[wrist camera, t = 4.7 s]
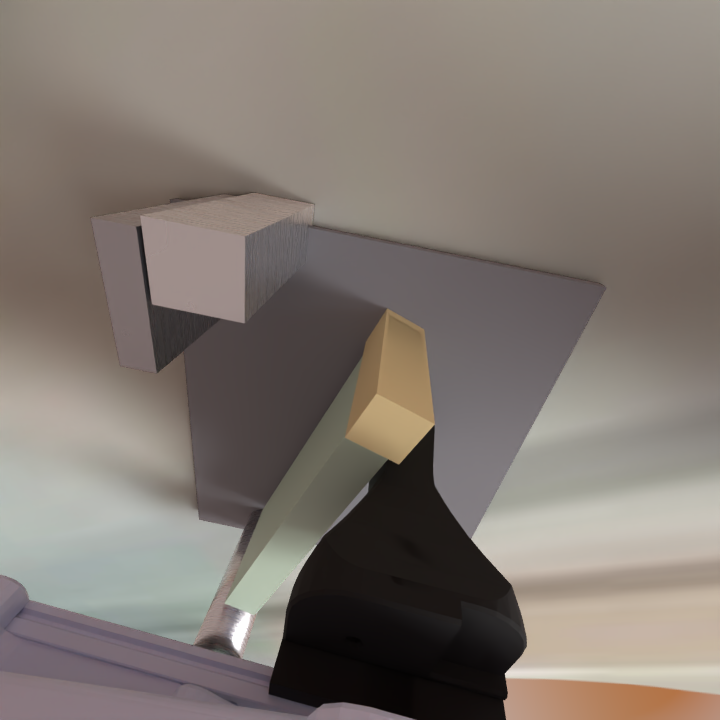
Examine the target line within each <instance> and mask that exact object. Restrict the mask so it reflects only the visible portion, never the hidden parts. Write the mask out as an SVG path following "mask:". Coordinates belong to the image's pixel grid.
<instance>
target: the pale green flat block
mask: <svg viewBox="0 0 720 720" xmlns="http://www.w3.org/2000/svg"><path fill="white" fill-rule="evenodd" d="M434 425H435V421H434V412H433V403H432V394H431V385H430V376H429V367H428V359H427V350H426V341H425V332H424V329H423V328H421V327H419V326H417V325H416V324H414V323H412V322H410V321H409V320H407V319H405V318H403V317H402V316H400V315H398V314H396V313H395V312H393V311H391V310H389V309H388V308H387V309H386V311H385V313H384V314H383V316H382V317H381V319H380V320H379V322H378V324H377V325H376V327H375V328H374V330H373V331H372V333H371V334H370V336H369V338H368V339H367V341H366V343H365V348H364V352H363V356H362V357H361V359H360V361H359V362H358V364H357V365H356V367H355V368H354V370H353V371H352V373H351V374H350V376H349V378H348V379H347V381H346V382H345V384H344V385H343V387H342V388H341V390H340V391H339V393H338V394H337V396H336V398H335V399H334V401H333V402H332V404H331V405H330V407H329V408H328V410H327V411H326V413H325V414H324V416H323V418H322V419H321V421H320V422H319V424H318V425H317V427H316V428H315V430H314V431H313V433H312V434H311V436H310V438H309V439H308V441H307V442H306V444H305V445H304V447H303V448H302V450H301V451H300V453H299V454H298V456H297V458H296V459H295V461H294V462H293V464H292V465H291V467H290V468H289V470H288V471H287V473H286V474H285V476H284V478H283V479H282V481H281V482H280V484H279V485H278V487H277V488H276V490H275V491H274V493H273V494H272V496H271V498H270V499H269V501H268V502H267V504H266V505H265V507H264V508H263V510H262V513H261V515H260V518H259V520H258V522H257V525H256V527H255V530H254V532H253V535H252V537H251V539H250V542H249V544H248V547H247V549H246V552H245V554H244V557H243V559H242V561H241V564H240V566H239V569H238V571H237V574H236V576H235V578H234V581H233V583H232V586H231V588H230V591H229V593H228V595H227V598H226V600H225V604H227V605H230V606H232V607H235V608H238V609H240V610H243V611H245V612H248V613H250V614H253V615H255V614H256V613H257V612H258V611H259V610H260V608H261V607H262V606H263V605H264V604H265V603H266V601H267V600H268V599H269V598H270V597H271V596H272V594H273V593H274V592H275V591H276V590H277V589H278V587H279V586H280V585H281V584H282V583H283V581H284V580H285V579H286V578H287V577H288V576H289V574H290V573H291V572H292V571H293V570H294V569H295V567H296V566H297V565H298V564H299V563H300V562H301V560H302V559H303V558H304V557H305V556H306V555H307V553H308V552H309V551H310V550H311V549H312V548H313V546H314V545H315V544H316V543H317V542H318V541H319V539H320V538H321V537H322V536H323V535H324V533H325V532H326V531H327V530H328V529H329V528H330V526H331V525H332V524H333V523H334V522H335V521H336V519H337V518H338V517H339V516H340V515H341V514H342V512H343V511H344V510H345V509H346V508H347V507H348V505H349V504H350V503H351V502H352V501H353V500H354V498H355V497H356V496H357V495H358V494H359V493H360V491H361V490H362V489H363V488H364V487H365V485H366V484H367V483H368V482H369V481H370V480H371V478H372V477H373V476H374V475H375V474H376V473H377V471H378V470H379V469H380V468H381V467H382V466H383V464H384V463H385V462H386V461H387V460H388V459H389V460H391V461H393V462H395V463H397V464H400V463H401V462H402V461H403V460H404V458H405V457H406V456H407V455H408V454H409V453H410V452H411V451H412V449H413V448H414V447H415V446H416V445H417V444H418V443H419V442H420V440H421V439H422V438H423V437H424V436H425V435H426V434H427V433H428V431H429V430H430V429H431V428H432V427H433V426H434Z"/></svg>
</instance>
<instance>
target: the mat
mask: <svg viewBox="0 0 720 720" xmlns="http://www.w3.org/2000/svg"><path fill="white" fill-rule="evenodd" d="M182 201H187V200H182V199H171V200H170V203H176V202H182ZM606 288H607V287H605V286H604V285H602V284H600V283H596V282H591V281H586V280H581V279H576V278H571V277H566V276H561V275H556V274H551V273H546V272H541V271H536V270H531V269H526V268H521V267H516V266H511V265H506V264H501V263H496V262H491V261H486V260H481V259H476V258H471V257H466V256H461V255H456V254H451V253H446V252H441V251H436V250H432V249H427V248H422V247H417V246H412V245H407V244H402V243H397V242H392V241H387V240H382V239H377V238H372V237H367V236H362V235H357V234H352V233H347V232H342V231H337V230H332V229H327V228H322V227H317V226H311V227H310V228H309V237H308V248H307V259H306V262H305V263H304V264H303V265H302V266H301V267H300V268H299V269H298V270H297V271H296V272H295V273H294V274H293V275H292V276H291V277H290V278H289V279H288V280H287V281H286V282H285V283H284V284H283V285H282V286H281V287H280V288H279V289H278V290H277V291H276V292H275V293H274V294H273V295H272V296H271V297H270V298H269V299H268V300H267V301H266V302H265V303H264V304H263V305H262V306H261V307H260V308H259V309H258V310H257V311H256V312H255V313H254V314H253V315H252V316H251V317H250V318H249V319H248V320H247V321H246V322H245V323H241V322H236V321H231V320H226V319H220V320H219V321H218V322H217V323H216V324H214V325H213V326H212V327H211V328H210V329H209V330H207V331H206V332H205V333H204V334H203V335H202V336H200V337H199V338H198V339H197V340H196V341H194V342H193V343H192V344H191V345H190V346H189V347H187V348H186V349H185V350H184V359H185V370H186V381H187V392H188V403H189V414H190V425H191V436H192V446H193V457H194V468H195V479H196V490H197V501H198V512H199V520H204V521H208V522H213V523H218V524H222V525H227V526H232V527H236V528H241V529H244V528H245V526H246V524H247V521H248V519H249V517H250V515H251V513H252V512H253V511H255V510H259V509H263V508H264V507H265V505H266V504H267V502H268V501H269V499H270V498H271V496H272V494H273V493H274V491H275V490H276V488H277V487H278V485H279V484H280V482H281V481H282V479H283V478H284V476H285V474H286V473H287V471H288V470H289V468H290V467H291V465H292V464H293V462H294V461H295V459H296V458H297V456H298V454H299V453H300V451H301V450H302V448H303V447H304V445H305V444H306V442H307V441H308V439H309V438H310V436H311V434H312V433H313V431H314V430H315V428H316V427H317V425H318V424H319V422H320V421H321V419H322V418H323V416H324V414H325V413H326V411H327V410H328V408H329V407H330V405H331V404H332V402H333V401H334V399H335V398H336V396H337V394H338V393H339V391H340V390H341V388H342V387H343V385H344V384H345V382H346V381H347V379H348V378H349V376H350V374H351V373H352V371H353V370H354V368H355V367H356V365H357V364H358V362H359V361H360V359H361V357H362V356H363V352H364V348H365V343H366V341H367V339H368V338H369V336H370V334H371V333H372V331H373V330H374V328H375V327H376V325H377V324H378V322H379V320H380V319H381V317H382V316H383V314H384V313H385V311H386V309H387V308H388V309H389V310H391V311H393V312H395V313H396V314H398V315H400V316H402V317H403V318H405V319H407V320H409V321H410V322H412V323H414V324H416V325H417V326H419V327H421V328H423V329H424V332H425V341H426V350H427V359H428V367H429V376H430V385H431V394H432V403H433V412H434V421H435V434H434V459H433V476H434V484H435V487H436V488H437V490H438V492H439V493H440V495H441V497H442V499H443V500H444V502H445V503H446V505H447V507H448V508H449V510H450V511H451V513H452V514H453V516H454V517H455V518H456V520H457V521H458V523H459V524H460V525H461V527H462V528H463V529H464V531H465V532H466V534H467V535H468V536H469V538H470V539H471V538H472V536H473V534H474V532H475V531H476V529H477V527H478V525H479V523H480V521H481V519H482V518H483V516H484V514H485V512H486V510H487V508H488V506H489V505H490V503H491V501H492V499H493V497H494V495H495V493H496V492H497V490H498V488H499V486H500V484H501V482H502V480H503V479H504V477H505V475H506V473H507V471H508V469H509V468H510V466H511V464H512V462H513V460H514V458H515V456H516V455H517V453H518V451H519V449H520V447H521V445H522V443H523V442H524V440H525V438H526V436H527V434H528V432H529V430H530V429H531V427H532V425H533V423H534V421H535V419H536V417H537V416H538V414H539V412H540V410H541V408H542V406H543V405H544V403H545V401H546V399H547V397H548V395H549V393H550V392H551V390H552V388H553V386H554V384H555V382H556V380H557V379H558V377H559V375H560V373H561V371H562V369H563V367H564V366H565V364H566V362H567V360H568V358H569V356H570V354H571V353H572V351H573V349H574V347H575V345H576V343H577V341H578V340H579V338H580V336H581V334H582V332H583V330H584V329H585V327H586V325H587V323H588V321H589V319H590V317H591V316H592V314H593V312H594V310H595V308H596V306H597V304H598V303H599V301H600V299H601V297H602V295H603V293H604V291H605V290H606ZM368 487H369V482H368V483H367V484H366V485H365V487H364V488H363V489H362V490H361V491H360V493H359V494H358V495H357V496H356V497H355V498H354V500H353V501H352V502H351V503H350V504H349V505H348V507H347V508H346V509H345V510H344V511H343V512H342V514H341V515H340V516H339V517H338V518H337V519H336V521H335V522H334V523H333V524H332V525H331V526H330V528H329V529H328V530H327V531H326V532H325V533H324V535H325V534H326V533H327V532H329V531H330V530H331V529H332V528H333V527H334V526H335V525H336V524H338V523H339V522H340V521H341V520H342V519H343V518H344V517H345V516H346V515H347V514H348V513H349V512H350V511H351V510H352V509H353V508H354V507H355V506H356V505H357V504H358V503H359V502H360V501H361V500H362V499H363V497H364V496H365V495H366V494H367V493H368ZM324 535H323V536H324ZM323 536H322V537H323ZM322 537H321V538H320V539H319V541H318V542H317V543H316V545H318V543H319V542H320V541H321V539H322Z"/></svg>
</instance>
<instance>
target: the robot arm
mask: <svg viewBox="0 0 720 720" xmlns="http://www.w3.org/2000/svg"><path fill="white" fill-rule="evenodd" d="M434 434H435V425H434V426H433V427H432V428H431V429H430V430H429V431H428V433H427V434H426V435H425V436H424V437H423V438H422V439H421V440H420V442H419V443H418V444H417V445H416V446H415V447H414V448H413V449H412V451H411V452H410V453H409V454H408V455H407V456H406V457H405V458H404V460H403V461H402V462H401V463H400V464H397V463H395V462H393V461H391V460H389V459H388V460H387V461H386V462H385V463H384V464H383V466H382V467H381V468H380V469H379V470H378V471H377V473H376V474H375V475H374V476H373V477H372V478H371V480H370V481H369V487H368V493H367V494H366V495H365V496H364V497H363V499H362V500H361V501H360V502H359V503H358V504H357V505H356V506H355V507H354V508H353V509H352V510H351V511H350V512H349V513H348V514H347V515H346V516H345V517H344V518H343V519H342V520H341V521H340V522H339V523H338V524H336V525H335V526H334V527H333V528H332V529H331V530H330V531H329V532H327V533H326V534H325V535H324V536H323V537H322V539H321V541H320V542H319V543H318V545H317V546H316V548H315V549H314V551H313V552H312V554H311V555H310V557H309V558H308V560H307V561H306V563H305V564H304V566H303V568H302V569H301V571H300V573H299V575H298V577H297V579H296V581H295V584H294V586H293V589H292V593H291V596H290V599H289V603H288V606H287V610H286V617H285V625H284V633H283V639H282V642H281V646H280V649H279V652H278V656H277V659H276V663H275V666H274V668H273V667H269V666H265V665H262V664H258V663H255V662H251V661H248V660H244V659H240V658H237V657H233V656H230V655H226V654H222V653H219V652H215V651H212V650H208V649H204V648H201V647H197V646H194V645H190V644H186V643H183V642H179V641H176V640H172V639H168V638H165V637H161V636H158V635H154V634H150V633H147V632H143V631H140V630H136V629H132V628H129V627H125V626H122V625H118V624H114V623H111V622H107V621H104V620H100V619H96V618H93V617H89V616H86V615H82V614H78V613H75V612H71V611H68V610H64V609H60V608H57V607H53V606H50V605H46V604H43V603H39V602H35V601H32V600H29V596H28V593H27V591H26V589H25V588H24V587H23V585H22V584H21V583H19V582H17V581H16V580H14V579H12V578H9V577H7V576H3V575H0V720H506V716H505V710H504V703H503V700H505V699H506V698H507V694H508V692H507V686H506V679H505V673H506V672H507V670H508V669H509V668H510V667H511V666H512V665H513V664H514V663H515V662H516V661H517V660H518V659H519V658H520V656H521V655H522V654H523V652H524V650H525V648H526V647H527V638H526V633H525V628H524V624H523V619H522V616H521V612H520V609H519V606H518V603H517V600H516V597H515V594H514V591H513V588H512V585H511V584H510V583H509V582H508V581H507V580H506V579H505V578H504V577H503V575H502V574H501V573H500V572H499V571H498V570H497V569H496V568H495V567H494V566H493V565H492V563H491V562H490V561H489V560H488V559H487V558H486V557H485V556H484V555H483V553H482V552H481V551H480V550H479V549H478V547H477V546H476V545H475V544H474V543H473V541H472V540H471V539H470V538H469V536H468V535H467V534H466V532H465V531H464V529H463V528H462V527H461V525H460V524H459V523H458V521H457V520H456V518H455V517H454V516H453V514H452V513H451V511H450V510H449V508H448V507H447V505H446V503H445V502H444V500H443V499H442V497H441V495H440V493H439V492H438V490H437V488H436V487H435V484H434V476H433V459H434Z"/></svg>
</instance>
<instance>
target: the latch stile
mask: <svg viewBox="0 0 720 720" xmlns="http://www.w3.org/2000/svg"><path fill="white" fill-rule="evenodd" d="M314 205H315V204H310V203H305V202H300V201H295V200H290V199H285V198H280V197H275V196H270V195H265V194H260V193H250V194H245V195H240V196H233V195H228V194H222V195H216V196H210V197H205V198H199V199H193V200H187V201H182V202H176V203H170V204H165V205H159V206H153V207H147V208H142V209H136V210H130V211H125V212H119V213H113V214H107V215H102V216H96V217H90V218H91V223H92V228H93V233H94V238H95V243H96V248H97V253H98V258H99V263H100V268H101V273H102V278H103V283H104V288H105V293H106V298H107V303H108V308H109V313H110V318H111V323H112V328H113V333H114V338H115V343H116V348H117V353H118V358H119V363H120V366H123V367H128V368H133V369H137V370H142V371H147V372H152V373H158V372H159V371H160V370H161V369H163V368H164V367H165V366H166V365H167V364H169V363H170V362H171V361H172V360H173V359H174V358H176V357H177V356H178V355H179V354H180V353H181V352H183V351H184V350H185V349H186V348H187V347H189V346H190V345H191V344H192V343H193V342H194V341H196V340H197V339H198V338H199V337H200V336H202V335H203V334H204V333H205V332H206V331H207V330H209V329H210V328H211V327H212V326H213V325H214V324H216V323H217V322H218V321H219V320H220V319H226V320H231V321H236V322H241V323H245V322H246V321H247V320H248V319H249V318H250V317H251V316H252V315H253V314H254V313H255V312H256V311H257V310H258V309H259V308H260V307H261V306H262V305H263V304H264V303H265V302H266V301H267V300H268V299H269V298H270V297H271V296H272V295H273V294H274V293H275V292H276V291H277V290H278V289H279V288H280V287H281V286H282V285H283V284H284V283H285V282H286V281H287V280H288V279H289V278H290V277H291V276H292V275H293V274H294V273H295V272H296V271H297V270H298V269H299V268H300V267H301V266H302V265H303V264H304V263H305V262H306V259H307V248H308V237H309V228H310V227H311V226H313V215H314Z"/></svg>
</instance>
